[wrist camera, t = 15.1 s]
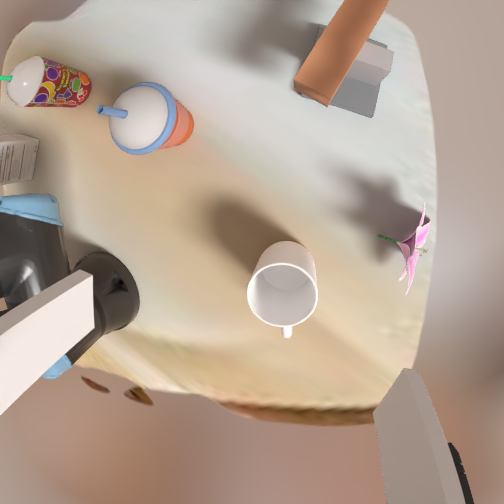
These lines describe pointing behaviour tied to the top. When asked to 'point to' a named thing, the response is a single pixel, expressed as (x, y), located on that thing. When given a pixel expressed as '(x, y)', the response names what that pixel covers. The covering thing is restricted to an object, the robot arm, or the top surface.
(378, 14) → the batten
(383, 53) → the ridge stand
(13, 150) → the supplement box
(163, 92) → the cup with straw
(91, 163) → the top surface
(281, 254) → the cup
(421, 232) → the lily
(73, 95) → the smoothie
